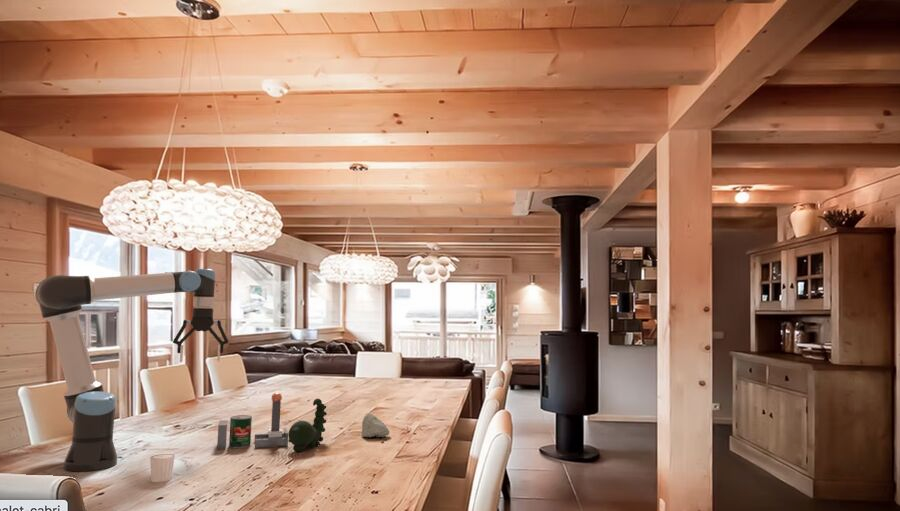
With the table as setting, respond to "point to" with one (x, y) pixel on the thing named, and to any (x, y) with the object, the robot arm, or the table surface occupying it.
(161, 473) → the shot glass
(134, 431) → the table surface
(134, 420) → the table surface
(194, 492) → the table surface
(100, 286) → the robot arm
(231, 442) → the canned tomato
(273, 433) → the ball-tipped square rod
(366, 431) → the decorative stone
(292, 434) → the toy figurine
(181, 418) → the table surface
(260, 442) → the press frame
